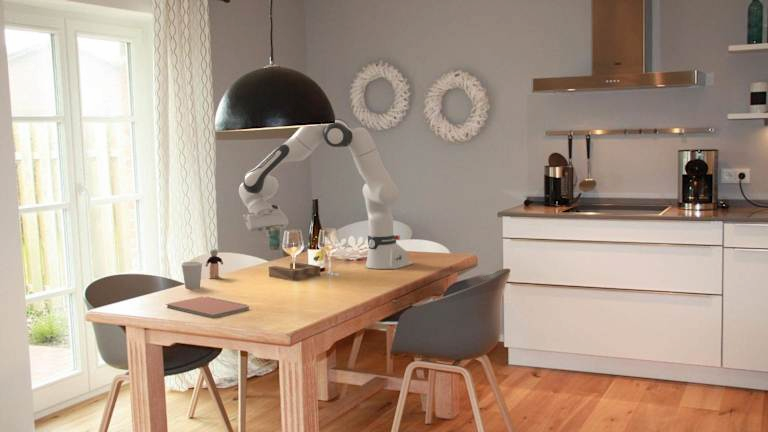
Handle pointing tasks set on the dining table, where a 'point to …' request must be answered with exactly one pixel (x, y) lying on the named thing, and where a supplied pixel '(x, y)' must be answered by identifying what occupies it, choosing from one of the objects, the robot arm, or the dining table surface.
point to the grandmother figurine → (214, 264)
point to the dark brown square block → (295, 271)
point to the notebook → (208, 306)
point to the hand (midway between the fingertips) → (275, 236)
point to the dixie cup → (192, 274)
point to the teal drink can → (274, 238)
